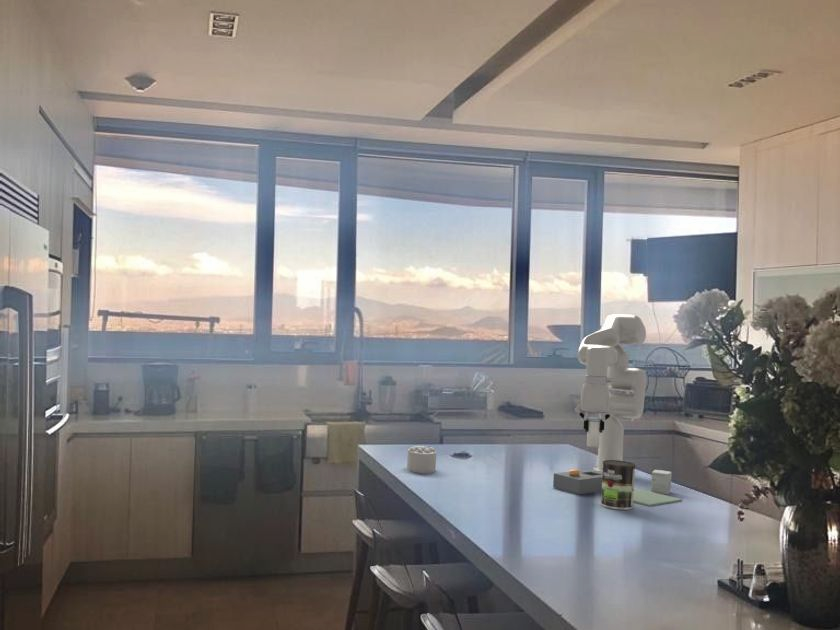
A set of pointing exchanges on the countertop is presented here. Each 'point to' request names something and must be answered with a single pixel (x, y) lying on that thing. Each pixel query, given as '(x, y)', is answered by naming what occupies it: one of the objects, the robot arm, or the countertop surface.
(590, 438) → the cartridge
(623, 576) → the countertop surface
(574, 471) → the orange egg
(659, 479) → the product box
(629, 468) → the coffee can
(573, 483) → the block
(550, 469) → the countertop surface
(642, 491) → the mat
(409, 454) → the lumpy-topped squat cylinder
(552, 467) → the countertop surface
